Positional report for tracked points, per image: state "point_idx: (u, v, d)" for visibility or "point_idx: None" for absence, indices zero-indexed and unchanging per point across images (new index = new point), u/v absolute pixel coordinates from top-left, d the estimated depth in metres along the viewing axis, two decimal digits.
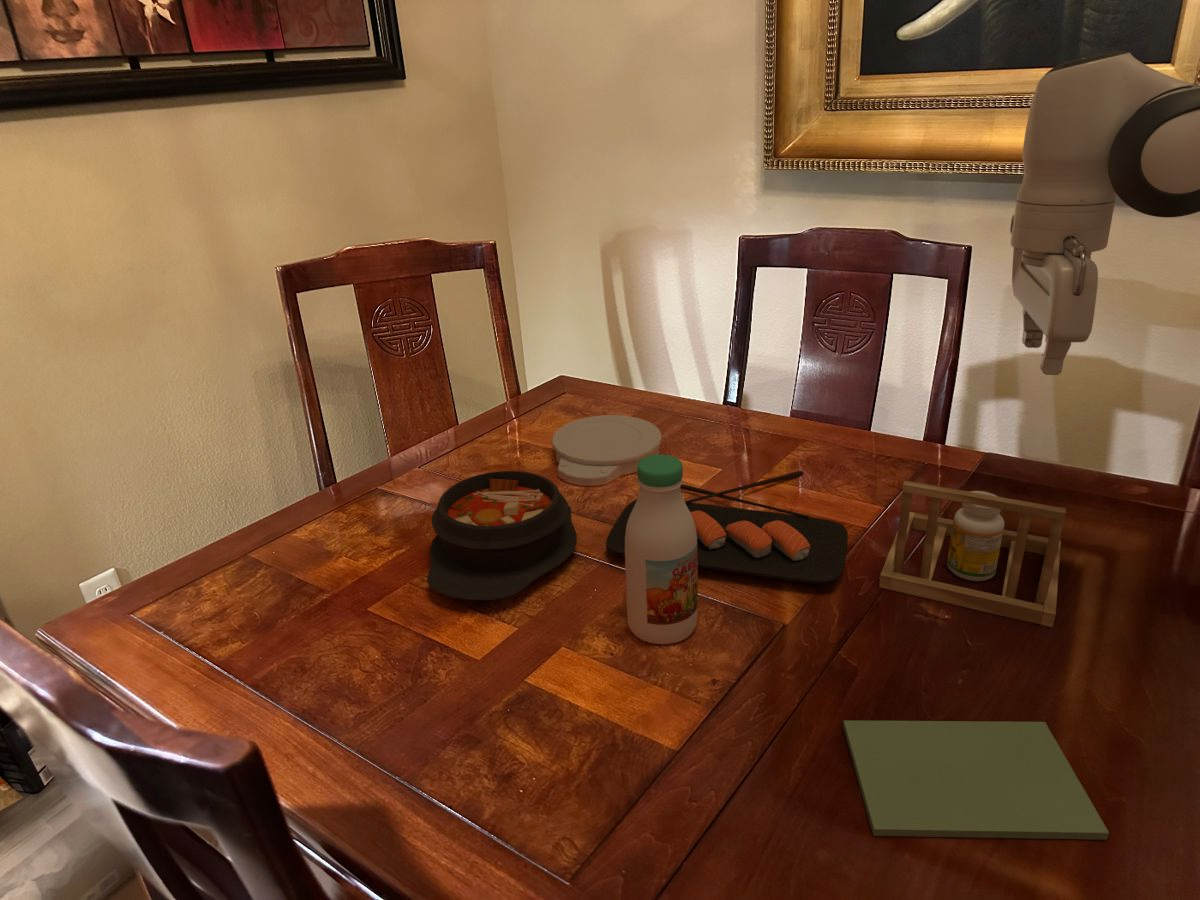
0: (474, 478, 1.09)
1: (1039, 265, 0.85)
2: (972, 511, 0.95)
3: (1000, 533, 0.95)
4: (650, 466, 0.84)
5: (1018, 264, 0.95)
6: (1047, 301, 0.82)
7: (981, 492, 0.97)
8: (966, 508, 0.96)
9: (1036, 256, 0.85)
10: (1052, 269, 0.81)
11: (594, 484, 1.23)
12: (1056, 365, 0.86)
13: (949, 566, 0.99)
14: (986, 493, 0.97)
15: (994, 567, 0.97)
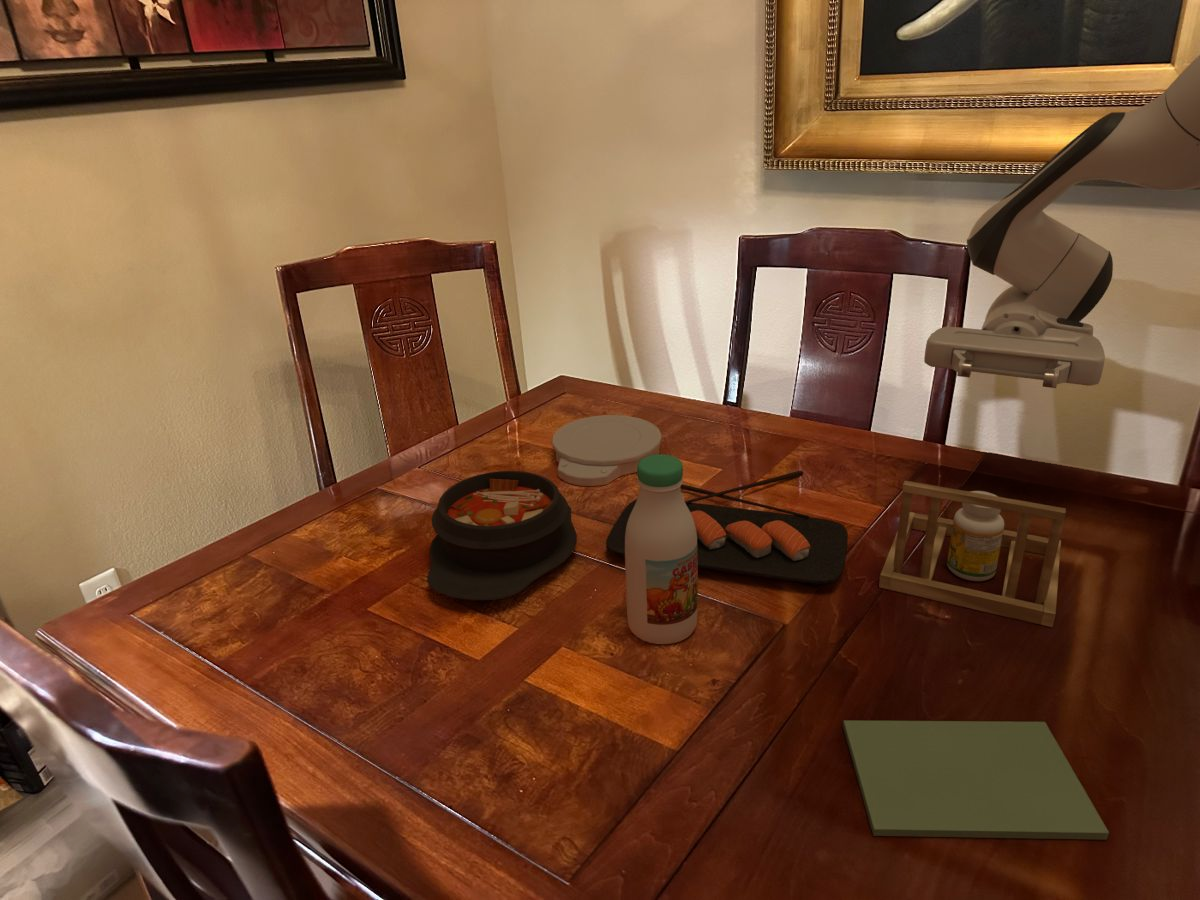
0: (474, 478, 1.09)
1: None
2: (972, 511, 0.95)
3: (1000, 533, 0.95)
4: (650, 466, 0.84)
5: None
6: None
7: (981, 492, 0.97)
8: (966, 508, 0.96)
9: None
10: None
11: (594, 484, 1.23)
12: None
13: (949, 566, 0.99)
14: (986, 493, 0.97)
15: (994, 567, 0.97)
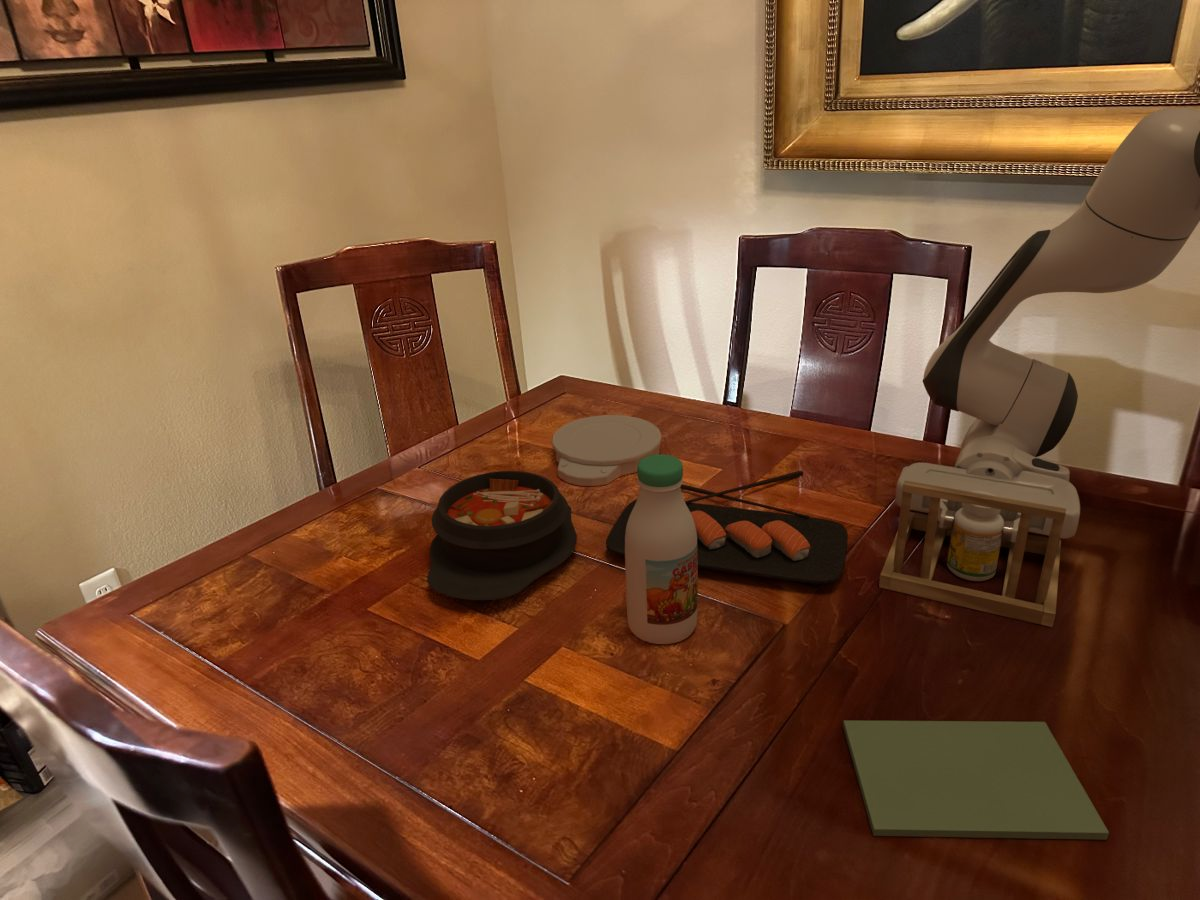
0: (474, 478, 1.09)
1: None
2: (972, 511, 0.95)
3: (1000, 533, 0.95)
4: (650, 466, 0.84)
5: None
6: None
7: (981, 492, 0.97)
8: (965, 508, 0.96)
9: None
10: None
11: (594, 484, 1.23)
12: None
13: (949, 566, 0.99)
14: (986, 493, 0.97)
15: (994, 567, 0.97)
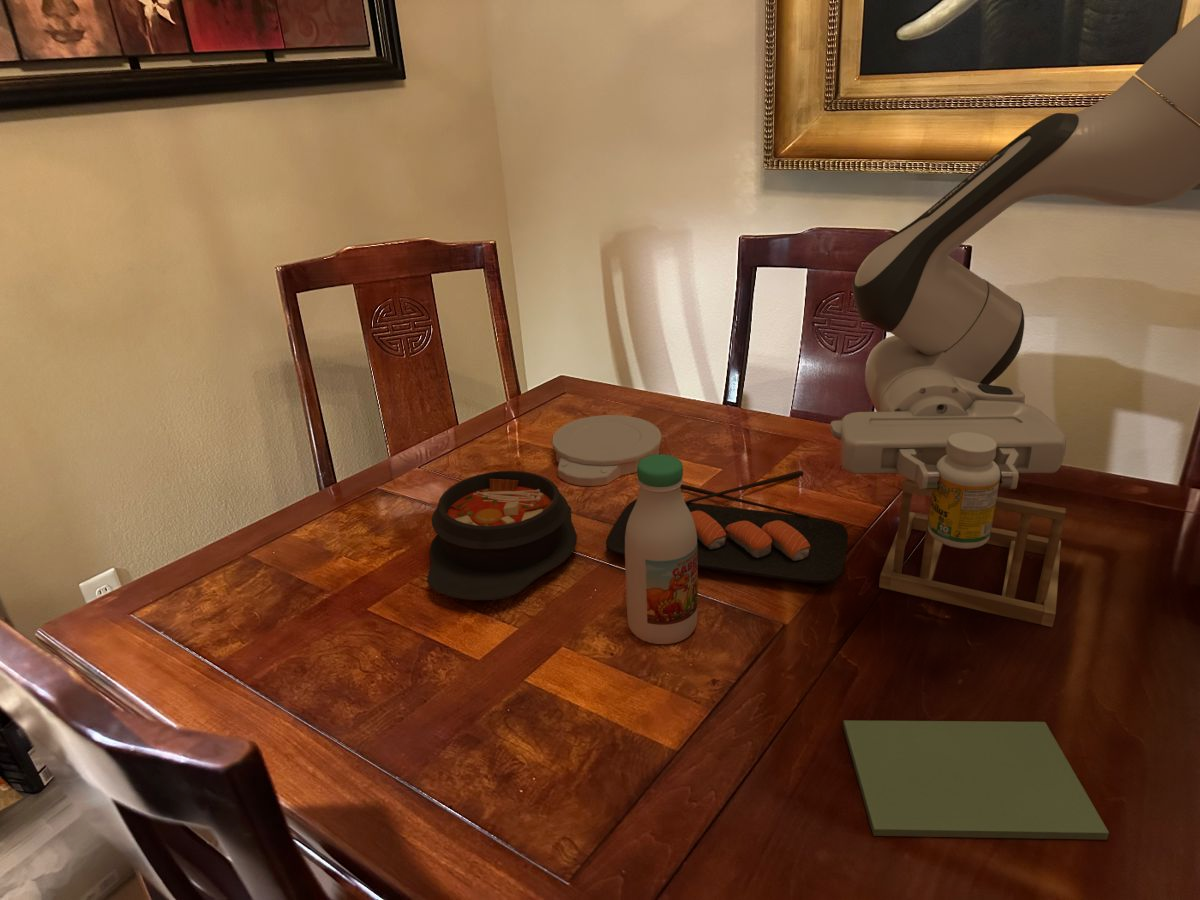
0: (474, 478, 1.09)
1: None
2: (968, 460, 0.73)
3: (999, 480, 0.74)
4: (650, 466, 0.84)
5: None
6: None
7: (963, 434, 0.75)
8: (957, 458, 0.73)
9: None
10: None
11: (594, 484, 1.23)
12: (919, 473, 0.76)
13: (937, 535, 0.77)
14: (969, 434, 0.75)
15: (991, 525, 0.76)
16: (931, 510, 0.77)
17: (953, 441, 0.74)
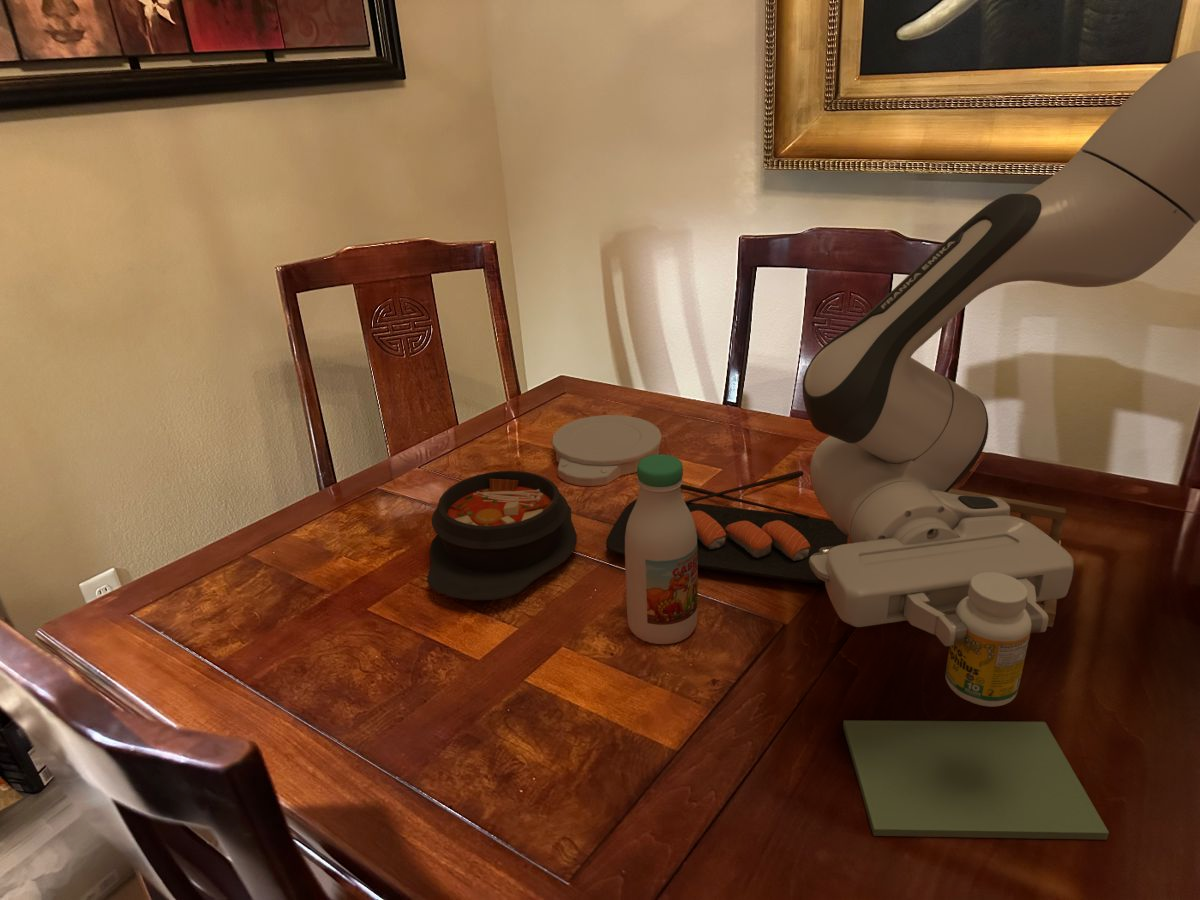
0: (474, 478, 1.09)
1: None
2: (1002, 611, 0.62)
3: None
4: (650, 466, 0.84)
5: None
6: None
7: (983, 575, 0.65)
8: (989, 609, 0.63)
9: None
10: None
11: (594, 484, 1.23)
12: (942, 627, 0.65)
13: (964, 694, 0.66)
14: (990, 575, 0.65)
15: None
16: (953, 664, 0.66)
17: (979, 589, 0.63)
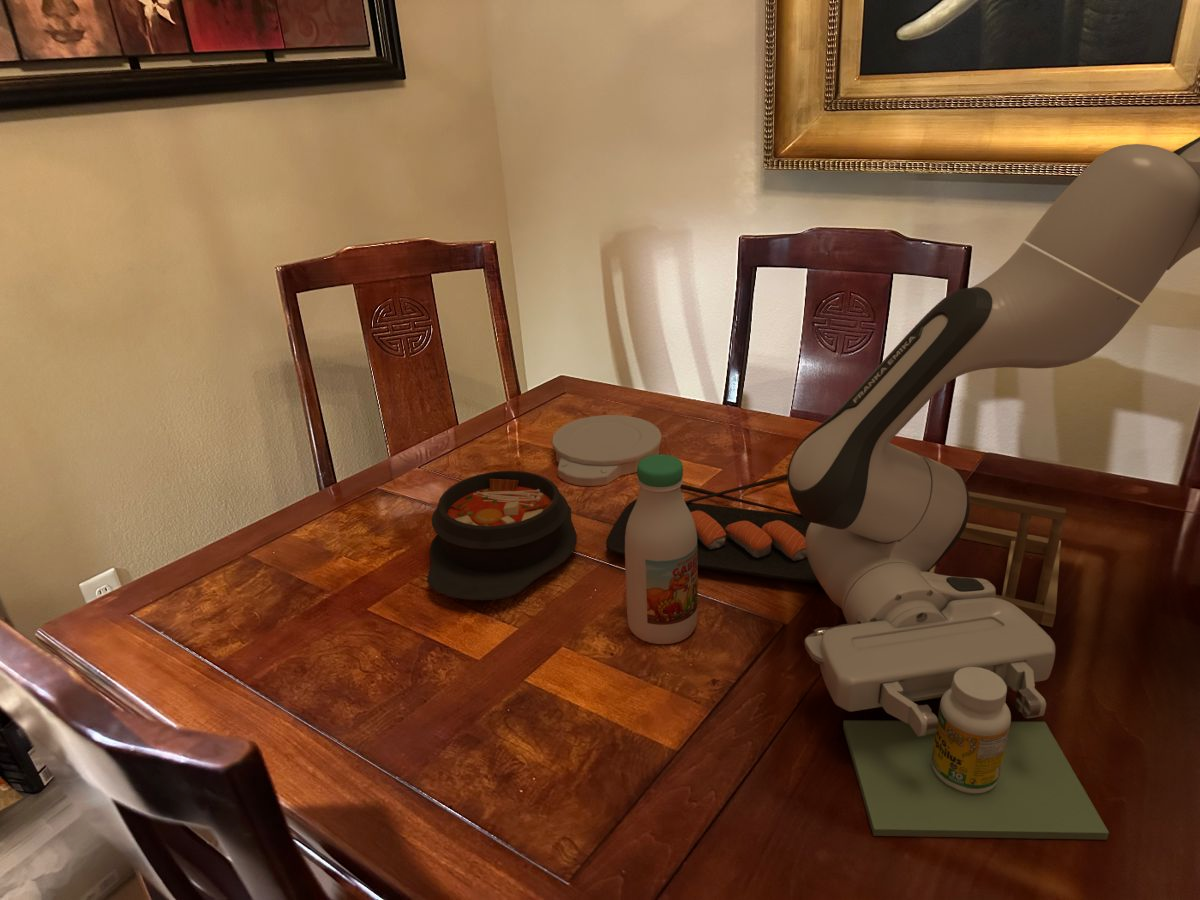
0: (474, 478, 1.09)
1: None
2: (983, 708, 0.66)
3: None
4: (650, 466, 0.84)
5: None
6: None
7: (966, 670, 0.69)
8: (970, 706, 0.67)
9: None
10: None
11: (594, 484, 1.23)
12: (914, 718, 0.68)
13: (948, 781, 0.70)
14: (972, 670, 0.69)
15: None
16: (938, 753, 0.70)
17: (961, 685, 0.67)
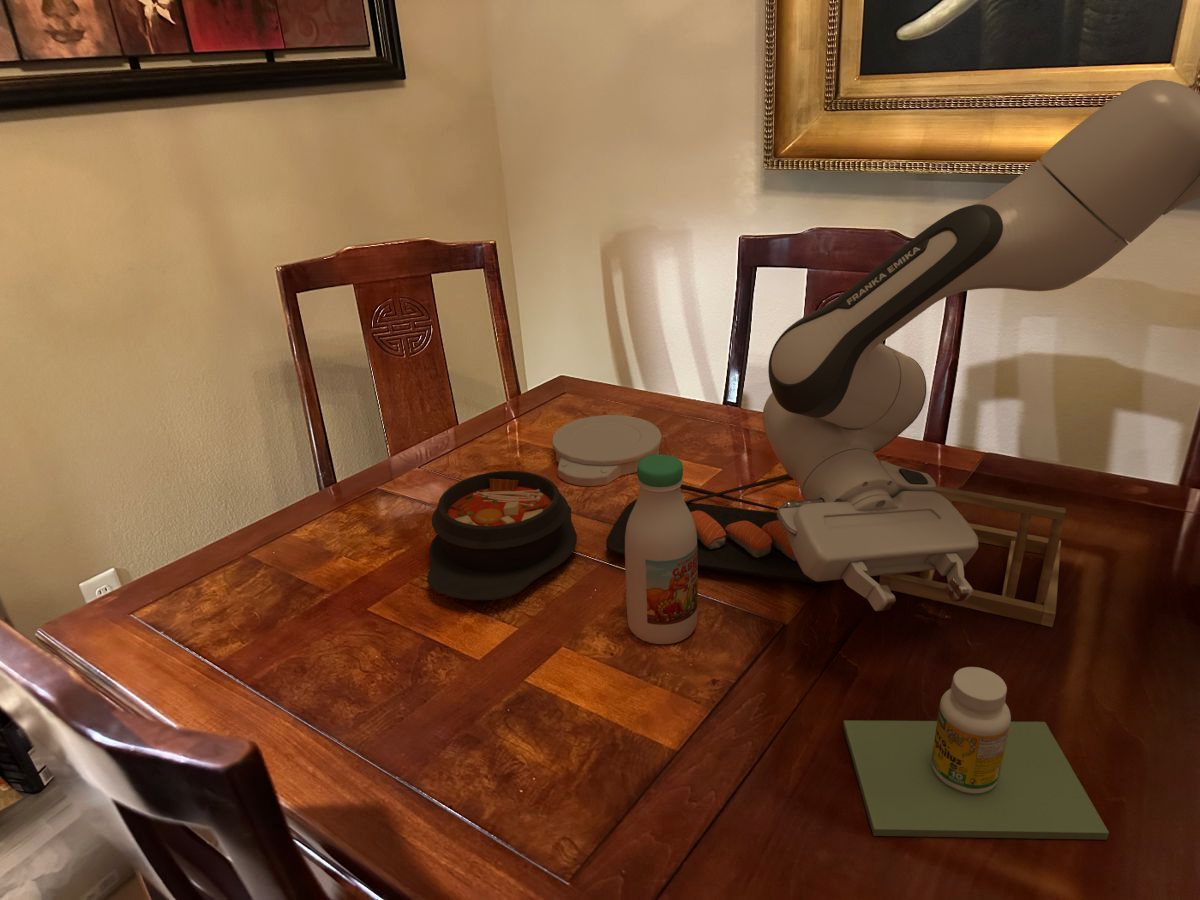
0: (474, 478, 1.09)
1: None
2: (982, 708, 0.66)
3: None
4: (650, 466, 0.84)
5: None
6: None
7: (966, 670, 0.69)
8: (970, 706, 0.67)
9: None
10: None
11: (594, 484, 1.23)
12: (876, 596, 0.78)
13: (948, 781, 0.70)
14: (972, 670, 0.69)
15: None
16: (938, 753, 0.70)
17: (961, 685, 0.67)
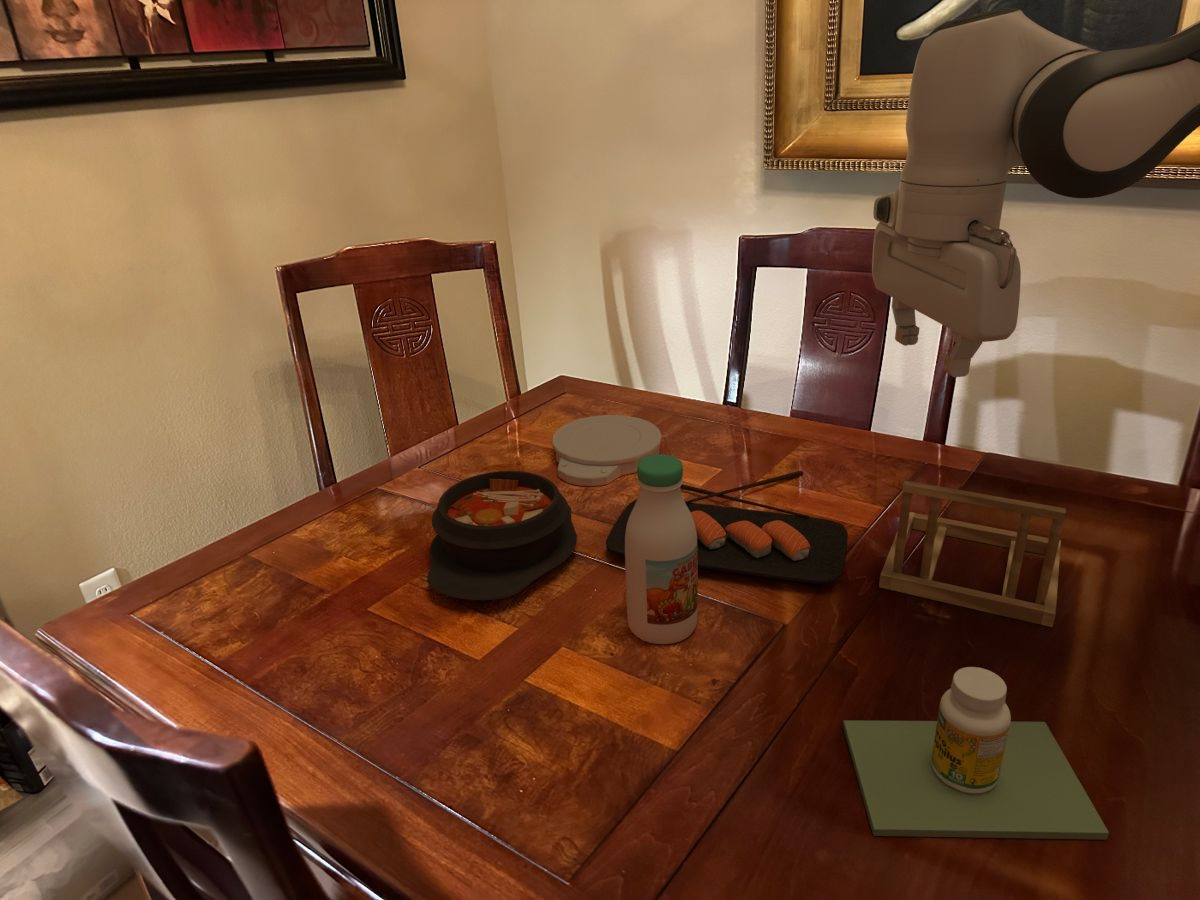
0: (474, 478, 1.09)
1: (937, 255, 0.75)
2: (982, 708, 0.66)
3: None
4: (650, 466, 0.84)
5: (882, 253, 0.85)
6: (962, 296, 0.72)
7: (966, 670, 0.69)
8: (970, 706, 0.67)
9: (933, 245, 0.75)
10: (968, 260, 0.71)
11: (594, 484, 1.23)
12: (964, 366, 0.77)
13: (948, 781, 0.70)
14: (972, 670, 0.69)
15: None
16: (938, 753, 0.70)
17: (961, 685, 0.67)
